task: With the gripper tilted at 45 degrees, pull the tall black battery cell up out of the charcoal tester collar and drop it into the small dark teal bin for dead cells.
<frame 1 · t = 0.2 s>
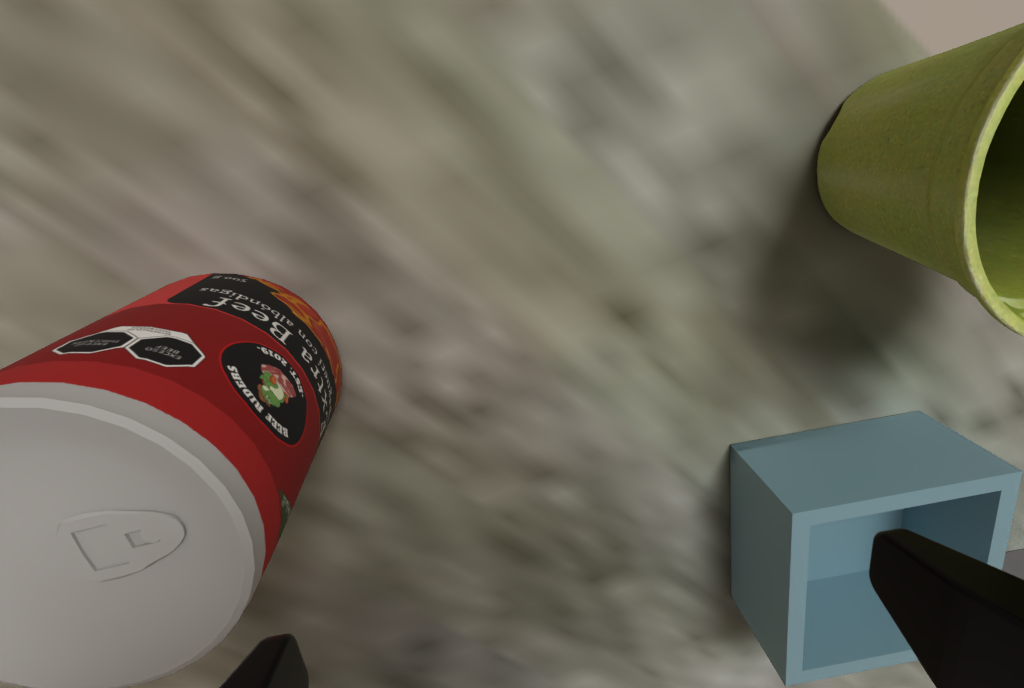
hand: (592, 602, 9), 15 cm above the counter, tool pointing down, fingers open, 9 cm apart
plant pot: (887, 154, 22), on the counter
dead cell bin: (820, 508, 27), on the counter
canned food: (243, 362, 22), on the counter
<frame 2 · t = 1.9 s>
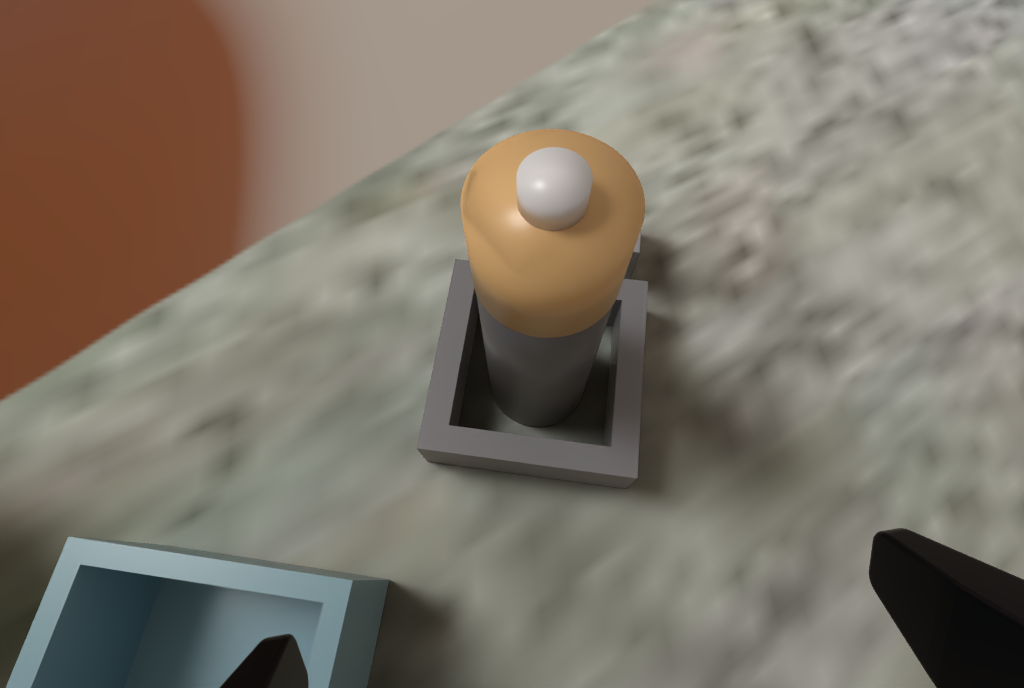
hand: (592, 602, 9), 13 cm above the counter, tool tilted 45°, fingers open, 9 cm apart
tester: (537, 380, 24), on the counter
battery cell: (537, 380, 24), resting in tester
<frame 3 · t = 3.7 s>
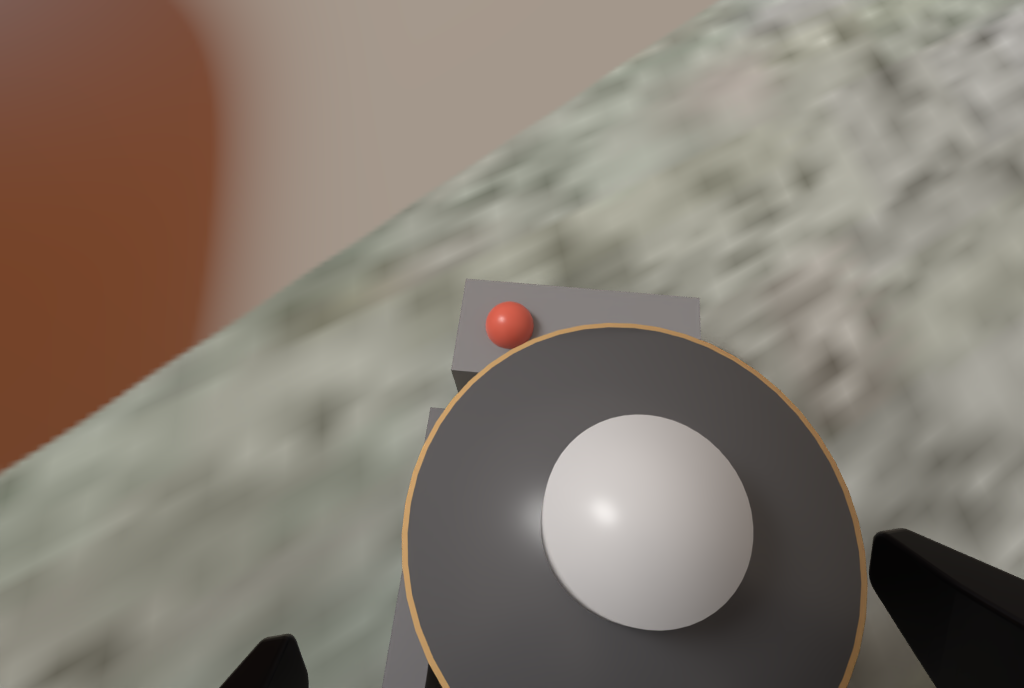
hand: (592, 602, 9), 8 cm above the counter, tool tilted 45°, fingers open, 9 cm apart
tester: (556, 578, 16), on the counter
battery cell: (556, 578, 16), resting in tester
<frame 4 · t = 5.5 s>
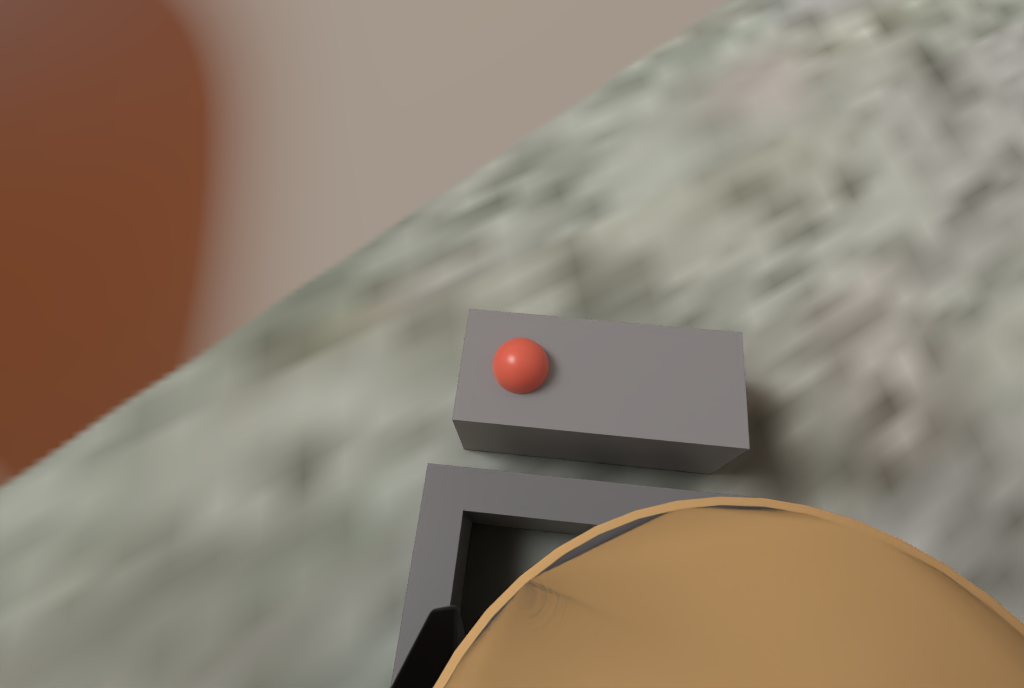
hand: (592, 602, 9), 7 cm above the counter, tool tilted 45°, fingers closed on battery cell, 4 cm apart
tester: (574, 660, 14), on the counter
battery cell: (574, 660, 14), resting in tester, touching gripper
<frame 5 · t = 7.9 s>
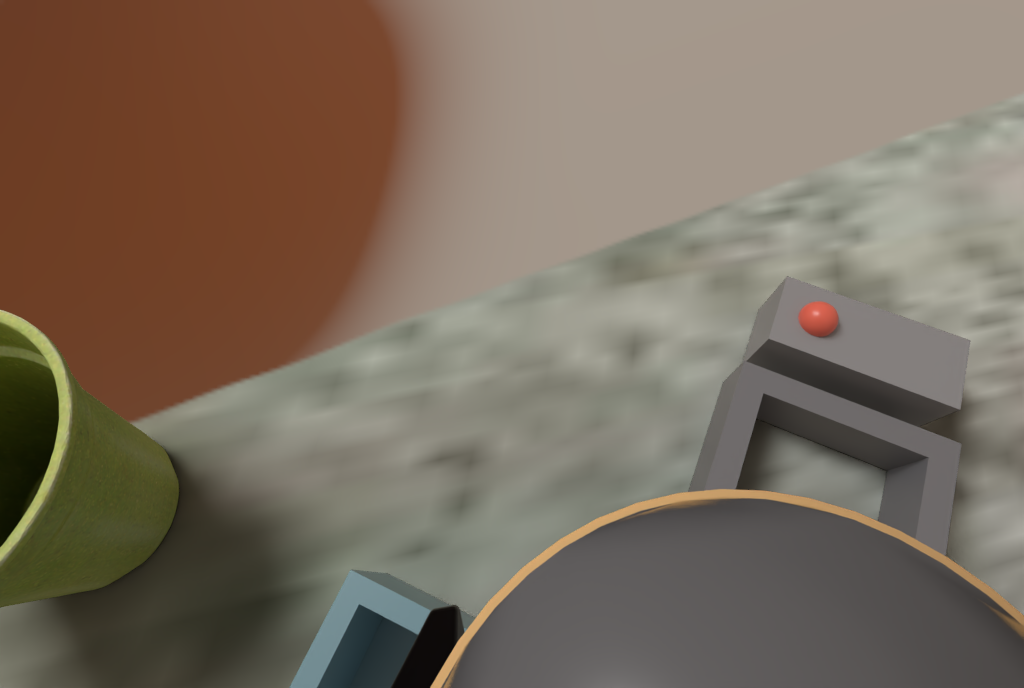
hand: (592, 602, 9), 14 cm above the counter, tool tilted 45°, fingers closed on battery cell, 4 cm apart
tester: (795, 509, 22), on the counter
plant pot: (108, 506, 23), on the counter
battery cell: (575, 658, 14), point 7 cm above the counter, touching gripper
when the fingers open (9 cm above the counter, at t = 10.3 s): battery cell drops 2 cm, resting on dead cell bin.
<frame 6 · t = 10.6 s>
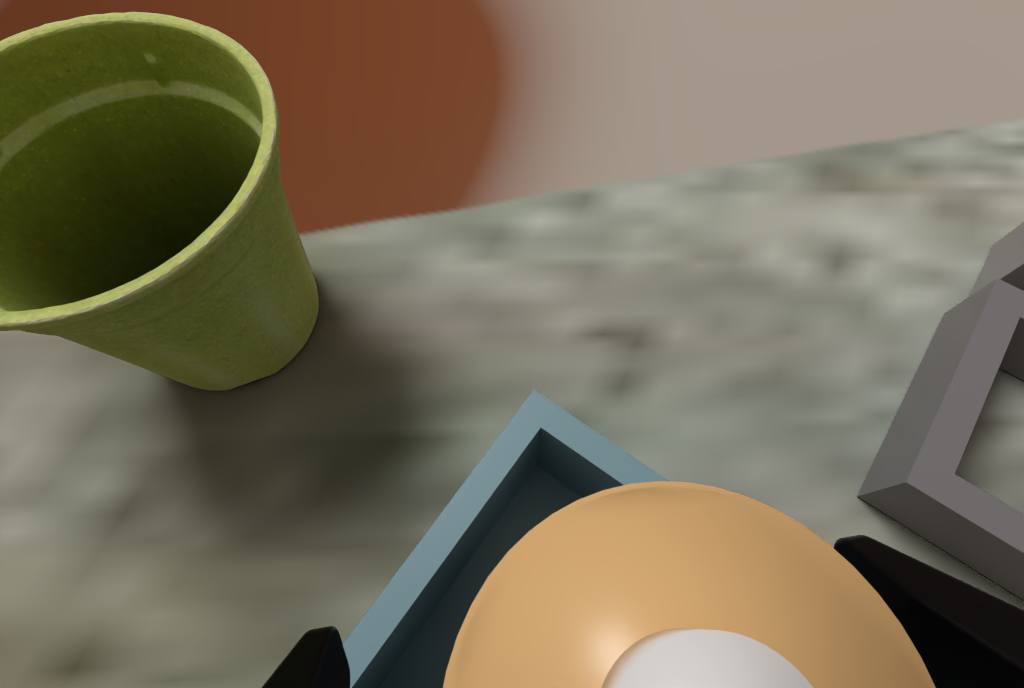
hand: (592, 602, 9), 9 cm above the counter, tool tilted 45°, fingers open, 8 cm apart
plant pot: (242, 316, 21), on the counter
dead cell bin: (567, 650, 16), on the counter
battery cell: (569, 654, 16), point 1 cm above the counter, touching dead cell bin
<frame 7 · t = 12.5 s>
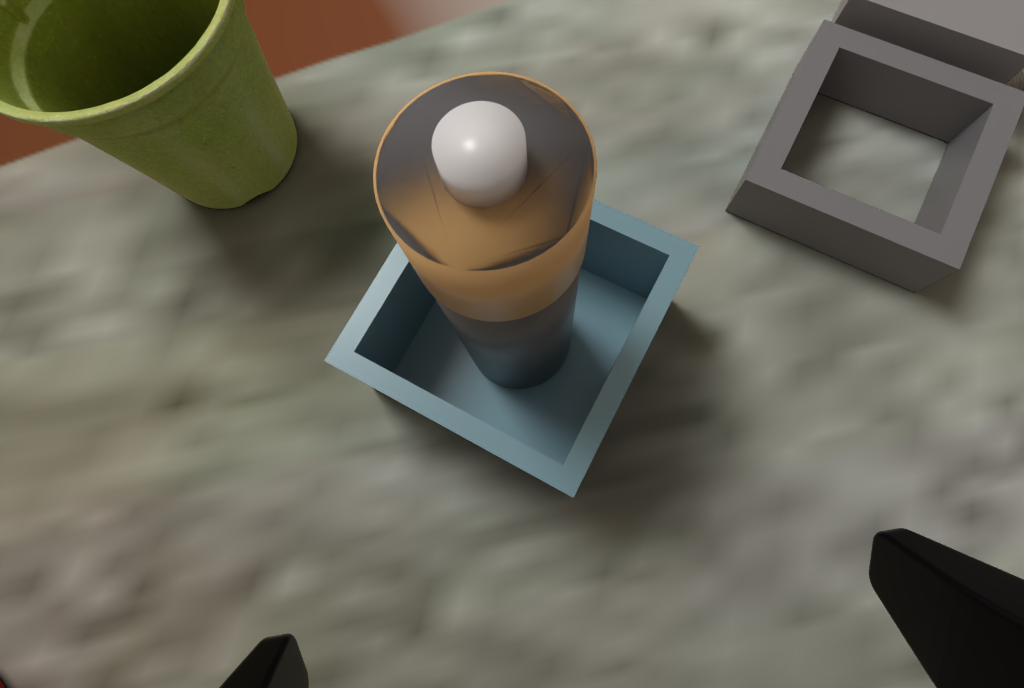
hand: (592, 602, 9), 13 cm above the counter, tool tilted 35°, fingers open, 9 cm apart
tester: (853, 171, 24), on the counter
plant pot: (237, 152, 26), on the counter
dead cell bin: (520, 341, 23), on the counter
battery cell: (519, 338, 22), point 1 cm above the counter, touching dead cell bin
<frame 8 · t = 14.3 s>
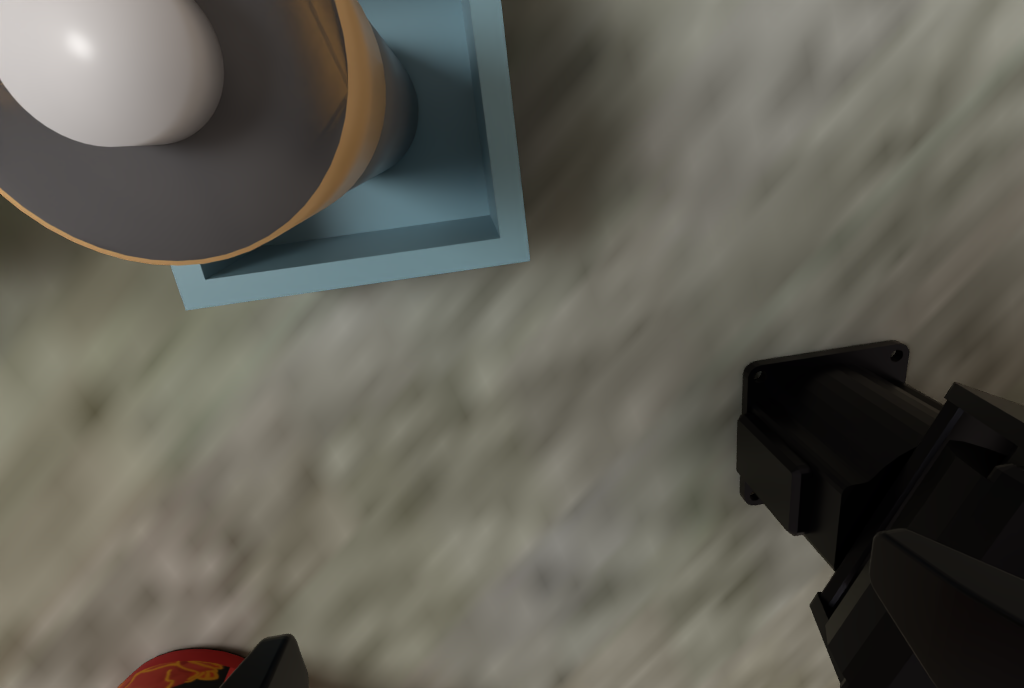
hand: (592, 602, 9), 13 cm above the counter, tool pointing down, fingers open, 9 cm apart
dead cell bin: (354, 108, 18), on the counter
battery cell: (351, 108, 17), point 1 cm above the counter, touching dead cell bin
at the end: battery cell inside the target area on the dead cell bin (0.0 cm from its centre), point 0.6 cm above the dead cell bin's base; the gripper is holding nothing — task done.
